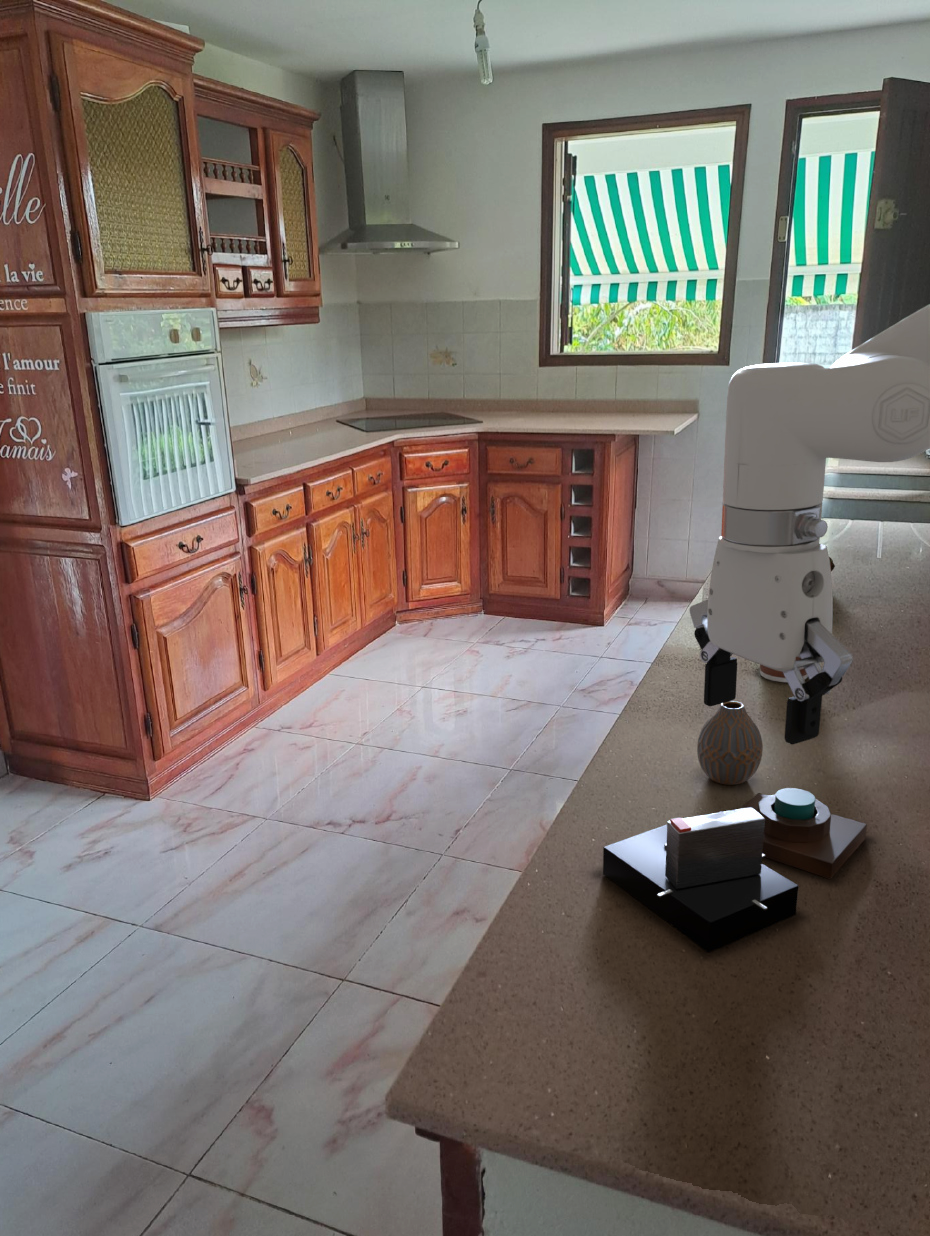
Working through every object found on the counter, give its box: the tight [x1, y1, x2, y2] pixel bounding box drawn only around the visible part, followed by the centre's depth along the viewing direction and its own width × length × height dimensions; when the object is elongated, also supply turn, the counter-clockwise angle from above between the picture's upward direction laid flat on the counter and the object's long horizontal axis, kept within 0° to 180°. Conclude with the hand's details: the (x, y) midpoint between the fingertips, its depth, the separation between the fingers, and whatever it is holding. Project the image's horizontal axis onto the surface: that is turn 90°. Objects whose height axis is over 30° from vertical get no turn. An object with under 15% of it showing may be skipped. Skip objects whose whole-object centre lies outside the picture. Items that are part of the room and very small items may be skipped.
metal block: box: [665, 807, 765, 889], centre depth 83 cm, size 8×2×6 cm, turn 103°
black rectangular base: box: [602, 824, 800, 953], centre depth 86 cm, size 15×12×3 cm
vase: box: [696, 700, 764, 786], centre depth 106 cm, size 7×7×9 cm
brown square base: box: [740, 792, 868, 880], centre depth 94 cm, size 11×9×4 cm
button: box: [774, 787, 816, 820], centre depth 93 cm, size 4×4×2 cm
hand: (758, 720), depth 83 cm, fingers open, 9 cm apart
